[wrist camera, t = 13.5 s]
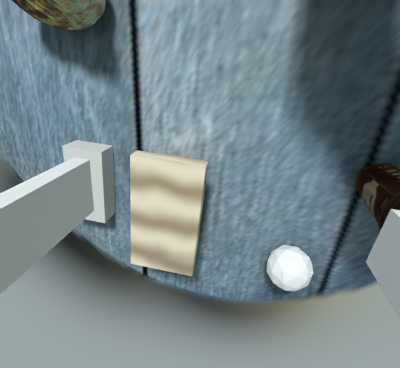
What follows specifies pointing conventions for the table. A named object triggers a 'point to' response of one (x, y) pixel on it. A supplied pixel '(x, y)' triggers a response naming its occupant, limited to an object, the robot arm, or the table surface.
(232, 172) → the table surface
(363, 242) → the table surface
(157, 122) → the table surface
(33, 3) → the seashell
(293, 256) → the geometric ball
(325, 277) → the table surface
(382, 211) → the coffee cup
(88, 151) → the rubber block
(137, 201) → the board
